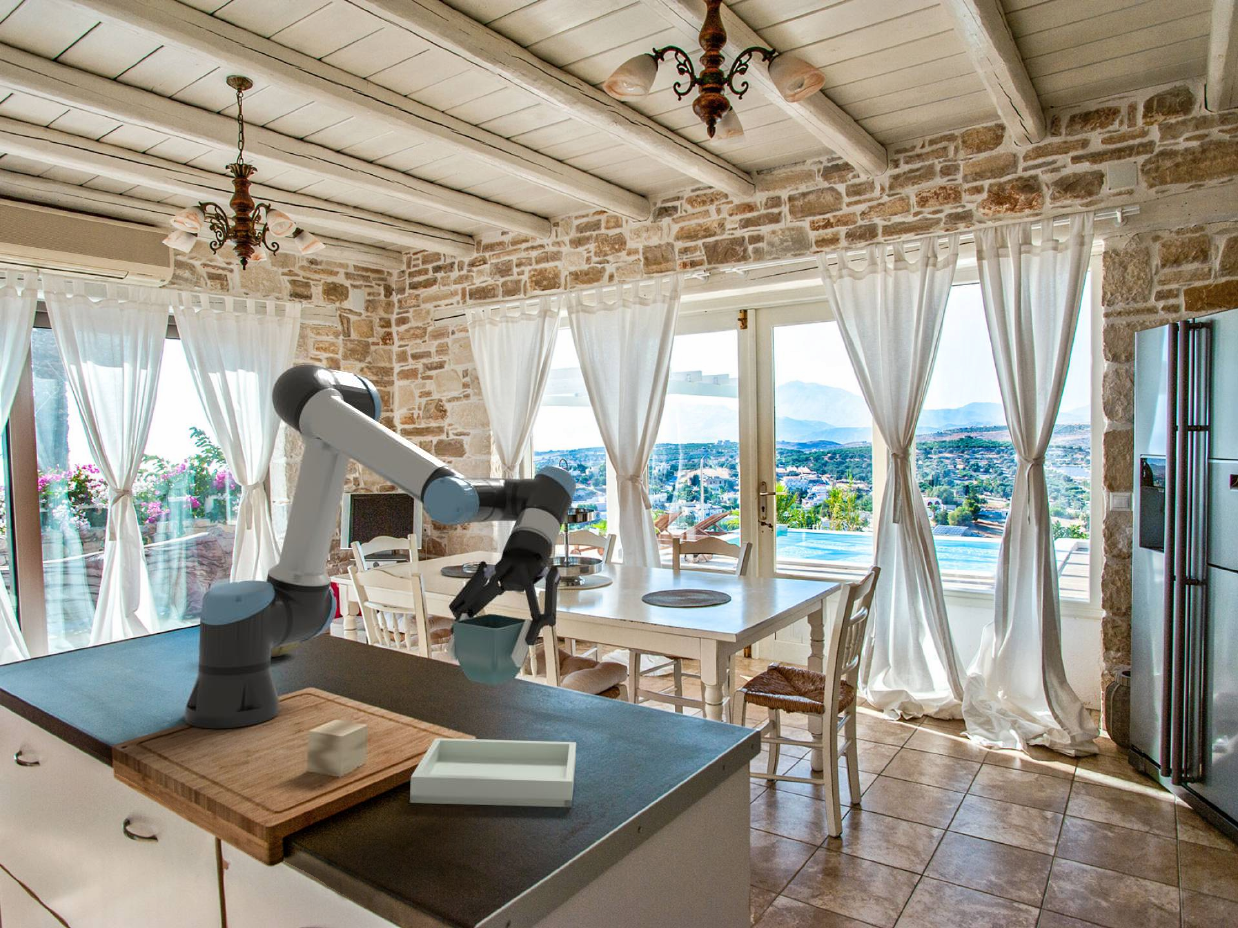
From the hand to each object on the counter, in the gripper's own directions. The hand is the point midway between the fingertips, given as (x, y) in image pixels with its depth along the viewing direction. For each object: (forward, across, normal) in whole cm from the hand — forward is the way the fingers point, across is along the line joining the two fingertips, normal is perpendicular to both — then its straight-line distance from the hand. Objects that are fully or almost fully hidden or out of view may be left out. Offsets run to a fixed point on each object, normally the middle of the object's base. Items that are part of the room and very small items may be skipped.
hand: (483, 658), depth 116 cm
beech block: (+15, +23, -11) cm, 29 cm away
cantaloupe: (-22, +82, -47) cm, 97 cm away
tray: (+12, -2, -14) cm, 18 cm away
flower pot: (+1, 0, -5) cm, 5 cm away
